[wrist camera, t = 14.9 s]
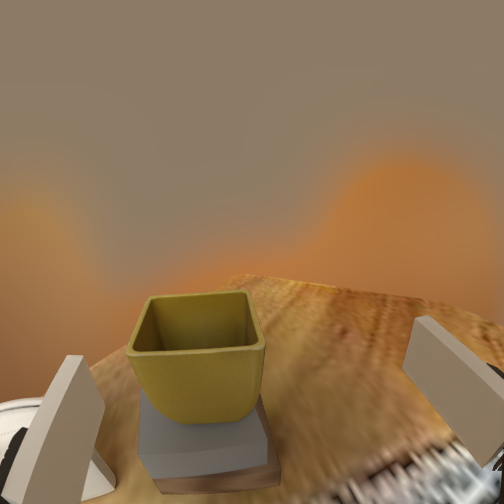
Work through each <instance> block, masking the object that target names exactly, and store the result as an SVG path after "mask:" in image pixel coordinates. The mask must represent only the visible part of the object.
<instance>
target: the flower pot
mask: <svg viewBox="0 0 504 504" xmlns="http://www.w3.org/2000/svg"><path fill="white" fill-rule="evenodd" d="M265 347H266V342H265V339H264V336H263V333H262V330H261V328H260V325H259V322H258V319H257V316H256V312H255V308H254V305H253V301H252V296H251V293H250V292H249V290H230V291H218V292H205V293H190V294H173V295H157V296H150V297H149V298H148V299H147V301H146V303H145V305H144V307H143V310H142V312H141V315H140V317H139V319H138V322H137V325H136V327H135V329H134V331H133V334H132V336H131V338H130V341H129V343H128V346H127V350H126V355H127V357H128V359H129V362H130V364H131V366H132V368H133V370H134V372H135V374H136V376H137V378H138V380H139V382H140V384H141V386H142V388H143V390H144V392H145V394H146V396H147V397H148V399H149V401H150V402H151V403H152V405H153V406H154V407H155V408H156V409H157V410H158V411H159V412H160V413H161V414H163V415H164V416H166V417H167V418H169V419H171V420H173V421H175V422H178V423H180V424H184V425H190V424H210V423H227V422H237V421H240V420H241V419H243V418H244V417H246V416H247V415H248V414H249V413H250V412H251V411H252V409H253V408H254V406H255V405H256V403H257V400H258V397H259V393H260V387H261V380H262V372H263V364H264V355H265Z"/></svg>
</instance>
